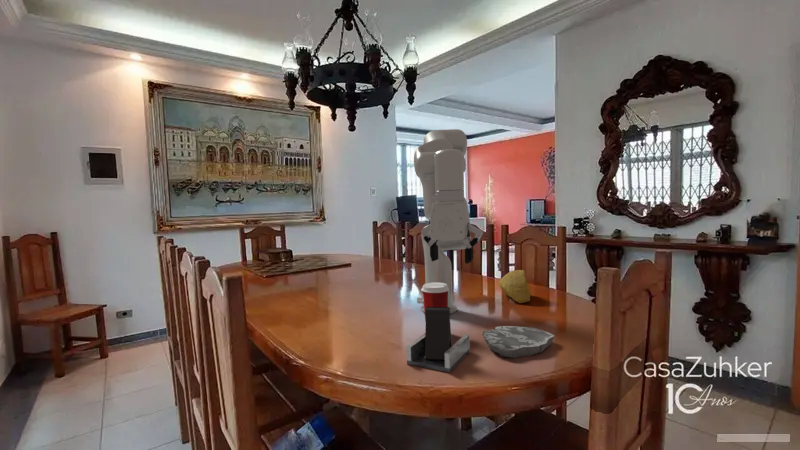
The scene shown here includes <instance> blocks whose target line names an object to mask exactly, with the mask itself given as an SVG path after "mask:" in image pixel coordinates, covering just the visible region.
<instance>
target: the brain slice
mask: <svg viewBox="0 0 800 450" xmlns="http://www.w3.org/2000/svg"><path fill="white" fill-rule="evenodd" d="M482 332H483V333H482V337H483V338H484V341H485V343H486V344H487V346H488V347H489V349H491V351H492V352H493V353H497V354H499V356H501V357H504V358H512V359H517V358H521V357H530V356H533V355H536V354H541V353H543V351H544V350H546V349H547V348H548V347H549V346H551V344H552V343H553V341H554V338H555V335H554V333H551V332H549V331H546V330H543V329H541V328H537V327H529V326H528V327H527V326H517V325H502V326H494V328H493V329H490V328H489V329H486V330H483V331H482Z"/></svg>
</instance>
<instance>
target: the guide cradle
mask: <svg viewBox="0 0 800 450" xmlns="http://www.w3.org/2000/svg"><path fill="white" fill-rule="evenodd" d="M470 339H471V338H470V334H464V335H463V336H462V337H460V339H458V340H457V341H456V342H455V343H454V344H452V347H451V348H450V349H449V350H448V351H446V352H445V361H444V360H425V333H423V334H422V335H421V336H419V337H418V338H416V339H415V340H413V341H412V342H411V343H409V344H408V345H407V346H406V365H408V364H409V366H415V367H418V366H419V368H422V369H423V368H425V369H428V368H429V369H428V370H435V371H439V372H443V371H444V373H448V372H449V373H452V371H453V370H454V369H455V368H456V367H457V366H458V365H459V364H460V363H461V362H462V361H463V359H464V358H465V357H466V356H468V354H470V353H471V347H470V346H471V345H470V341H471V340H470ZM449 373H448V374H449Z"/></svg>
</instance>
